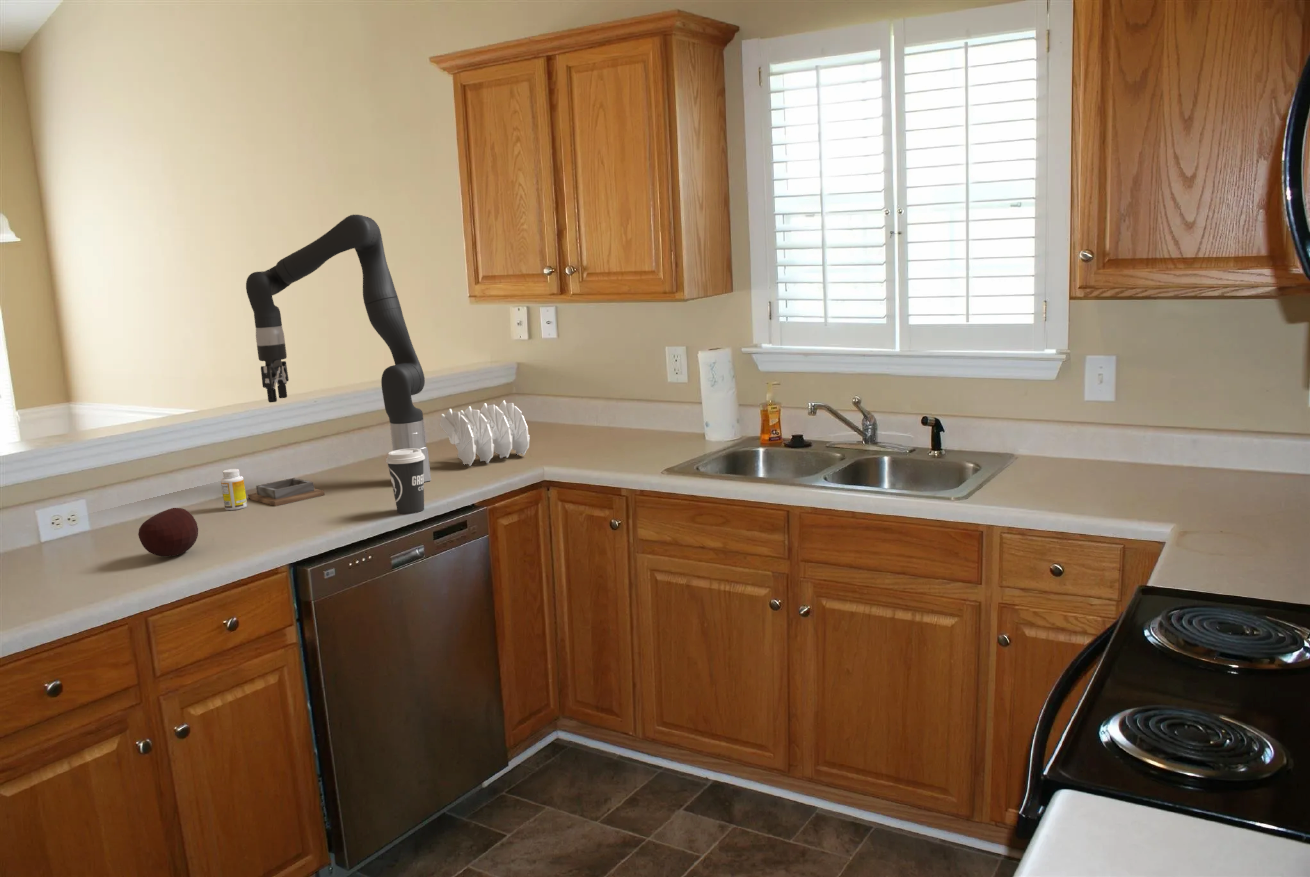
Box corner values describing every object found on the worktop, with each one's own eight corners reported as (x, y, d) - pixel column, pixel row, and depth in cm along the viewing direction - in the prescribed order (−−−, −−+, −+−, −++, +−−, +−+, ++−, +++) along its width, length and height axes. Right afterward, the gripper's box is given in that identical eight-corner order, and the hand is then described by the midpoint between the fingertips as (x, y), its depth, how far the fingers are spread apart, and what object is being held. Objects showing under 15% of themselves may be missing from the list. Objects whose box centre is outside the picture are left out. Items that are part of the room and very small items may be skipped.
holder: (324, 494, 282) (322, 482, 282) (275, 506, 272) (273, 492, 272) (296, 488, 293) (294, 475, 293) (248, 498, 284) (246, 485, 283)
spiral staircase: (533, 468, 320) (461, 479, 305) (506, 438, 332) (434, 447, 316) (545, 417, 312) (471, 426, 297) (516, 389, 323) (444, 395, 308)
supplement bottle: (250, 504, 276) (245, 467, 274) (244, 509, 271) (238, 471, 269) (228, 506, 276) (223, 468, 274) (222, 511, 270) (216, 473, 268)
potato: (130, 563, 226) (122, 517, 224) (177, 546, 238) (170, 502, 236) (169, 566, 222) (162, 519, 220) (215, 548, 234) (208, 503, 232)
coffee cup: (410, 516, 252) (404, 456, 249) (383, 513, 257) (376, 454, 254) (438, 507, 259) (432, 448, 257) (410, 504, 265) (404, 447, 262)
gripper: (275, 344, 284) (282, 402, 287) (292, 340, 299) (299, 395, 301) (248, 346, 284) (255, 404, 287) (266, 341, 298) (273, 397, 301)
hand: (278, 400), depth 294 cm, fingers open, 8 cm apart
